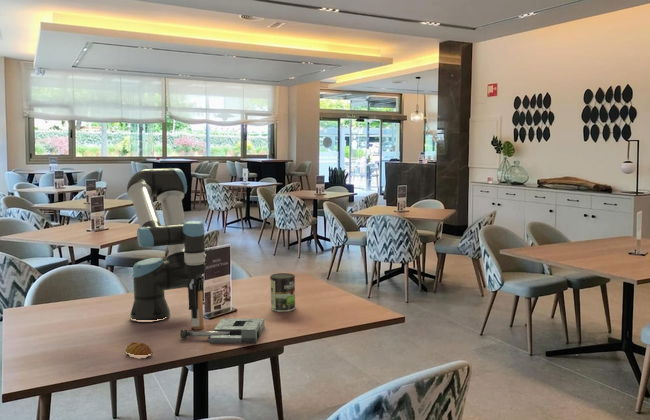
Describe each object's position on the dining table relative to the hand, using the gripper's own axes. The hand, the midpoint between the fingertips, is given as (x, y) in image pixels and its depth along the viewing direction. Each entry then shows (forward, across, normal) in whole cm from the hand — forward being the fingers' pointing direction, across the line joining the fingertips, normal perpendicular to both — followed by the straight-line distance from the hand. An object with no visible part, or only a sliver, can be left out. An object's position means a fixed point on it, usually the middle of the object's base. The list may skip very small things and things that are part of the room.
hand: (197, 323), depth 213 cm
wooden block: (+2, 0, 0) cm, 2 cm away
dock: (+2, -7, -17) cm, 18 cm away
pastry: (+2, -27, +12) cm, 30 cm away
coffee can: (+2, +26, -29) cm, 39 cm away
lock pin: (+1, -12, -6) cm, 14 cm away
